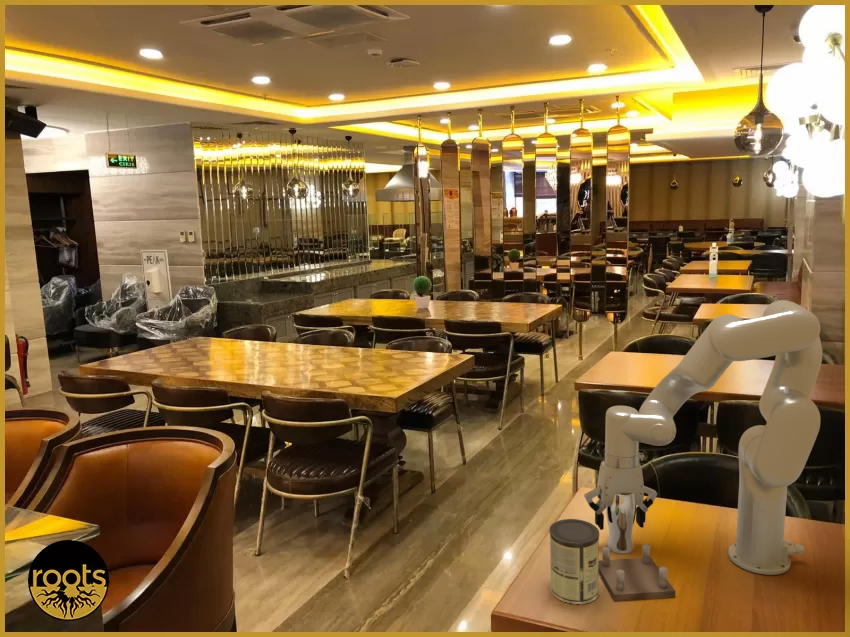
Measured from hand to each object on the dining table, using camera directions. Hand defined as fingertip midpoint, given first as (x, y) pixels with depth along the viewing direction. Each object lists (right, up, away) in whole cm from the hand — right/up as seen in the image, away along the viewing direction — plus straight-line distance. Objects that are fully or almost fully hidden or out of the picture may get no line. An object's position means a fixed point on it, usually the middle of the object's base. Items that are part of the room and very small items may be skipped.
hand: (619, 526), depth 153 cm
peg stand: (-1, -8, -13) cm, 15 cm away
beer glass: (0, -6, +1) cm, 6 cm away
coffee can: (-15, -9, -15) cm, 23 cm away
